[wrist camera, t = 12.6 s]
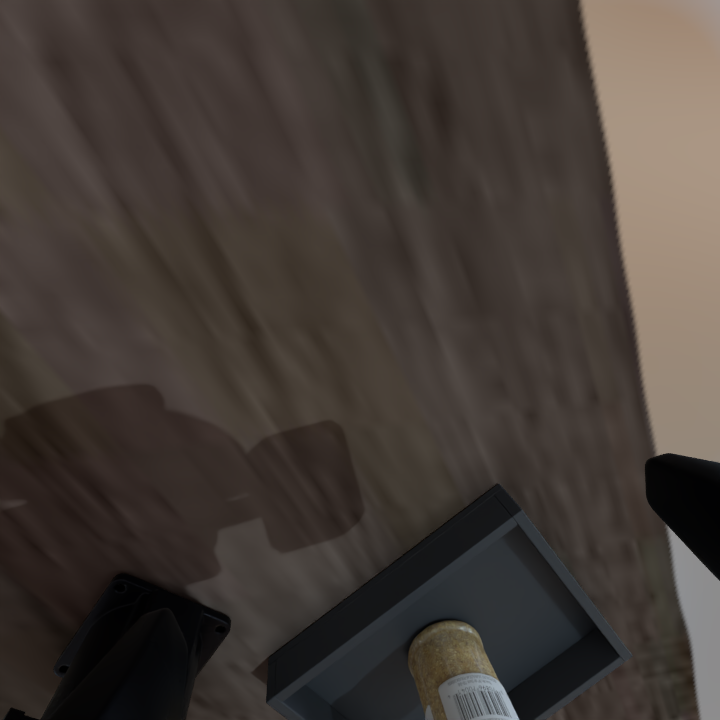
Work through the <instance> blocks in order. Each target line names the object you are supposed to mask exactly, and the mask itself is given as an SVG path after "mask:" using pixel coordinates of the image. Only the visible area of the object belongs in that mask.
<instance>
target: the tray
mask: <svg viewBox="0 0 720 720" xmlns="http://www.w3.org/2000/svg"><path fill="white" fill-rule="evenodd" d="M448 620H449V621H453V620H455V621H462V622H465V623H467V624H469V625H470V626H472V627H473V628H474V629H475V630H476V631H477V632H478V634H479V636H480V638H481V641H482V643H483V649H484V651H485V653H486V655H487V657H488V659H489V661H490V664H491V665H492V667H493V669H494V672H495V674H496V676H497V678H498V680H499V682H500V683H501V684H502V686H503V687H504V689H505V691H506V693H507V695H508V697H509V699H510V701H511V703H512V705H513V708H514V710H515V712H516V714H517V716H518V718H519V720H546V719H547V718H549V717H550V716H551V715H553V714H554V713H555V712H557V711H558V710H560V709H561V708H562V707H564V706H565V705H566V704H568V703H569V702H571V701H572V700H573V699H575V698H576V697H577V696H579V695H580V694H582V693H583V692H584V691H586V690H587V689H588V688H590V687H591V686H593V685H594V684H595V683H597V682H598V681H599V680H601V679H602V678H604V677H605V676H606V675H608V674H609V673H610V672H612V671H613V670H615V669H616V668H617V667H619V666H620V665H621V664H623V663H624V662H625V661H627V660H628V659H630V658H631V657H632V654H631V653H630V652H629V650H628V649H627V648H626V646H625V645H624V644H623V642H622V641H621V640H620V638H619V637H618V636H617V634H616V633H615V632H614V630H613V629H612V628H611V626H610V625H609V624H608V622H607V621H606V620H605V619H604V617H603V616H602V615H601V613H600V612H599V611H598V609H597V608H596V607H595V605H594V604H593V603H592V601H591V600H590V599H589V597H588V596H587V595H586V593H585V592H584V591H583V589H582V588H581V587H580V585H579V584H578V583H577V582H576V580H575V579H574V578H573V576H572V575H571V574H570V572H569V571H568V570H567V568H566V567H565V566H564V564H563V563H562V562H561V560H560V559H559V558H558V556H557V555H556V554H555V552H554V551H553V550H552V548H551V547H550V546H549V544H548V543H547V542H546V541H545V539H544V538H543V537H542V535H541V534H540V533H539V531H538V530H537V529H536V527H535V526H534V525H533V523H532V522H531V521H530V519H529V518H528V517H527V515H526V514H525V513H524V511H523V510H522V509H521V508H520V507H519V506H518V504H517V503H516V502H515V501H514V500H513V499H512V498H511V496H510V495H509V494H508V493H507V492H506V491H505V490H504V489H503V487H502V486H501V485H500V484H497V485H496V486H495V487H493V488H492V489H491V490H490V491H488V492H487V493H486V494H484V495H483V496H482V497H480V498H479V499H478V500H476V501H475V502H474V503H472V504H471V505H470V506H468V507H467V508H466V509H464V510H463V511H462V512H460V513H459V514H458V515H457V516H455V517H454V518H453V519H451V520H450V521H449V522H447V523H446V524H445V525H443V526H442V527H441V528H439V529H438V530H437V531H435V532H434V533H433V534H431V535H430V536H429V537H427V538H426V539H425V540H424V541H422V542H421V543H420V544H418V545H417V546H416V547H414V548H413V549H412V550H410V551H409V552H408V553H406V554H405V555H404V556H402V557H401V558H400V559H398V560H397V561H396V562H395V563H393V564H392V565H391V566H389V567H388V568H387V569H385V570H384V571H383V572H381V573H380V574H379V575H377V576H376V577H375V578H373V579H372V580H371V581H369V582H368V583H367V584H365V585H364V586H363V587H362V588H360V589H359V590H358V591H356V592H355V593H354V594H352V595H351V596H350V597H348V598H347V599H346V600H344V601H343V602H342V603H340V604H339V605H338V606H336V607H335V608H334V609H333V610H331V611H330V612H329V613H327V614H326V615H325V616H323V617H322V618H321V619H319V620H318V621H317V622H315V623H314V624H313V625H311V626H310V627H309V628H307V629H306V630H305V631H303V632H302V633H301V634H300V635H298V636H297V637H296V638H294V639H293V640H292V641H290V642H289V643H288V644H286V645H285V646H284V647H282V648H281V649H280V650H278V651H277V652H276V653H274V654H273V655H272V656H271V657H269V663H268V665H269V667H268V680H267V696H266V703H267V704H268V705H270V706H271V707H272V708H273V709H275V710H276V711H277V712H279V713H280V714H281V715H283V716H284V717H285V718H286V719H288V720H425V714H424V710H423V706H422V703H421V700H420V696H419V692H418V689H417V686H416V683H415V680H414V677H413V676H412V674H411V672H410V669H409V666H408V656H409V655H408V653H409V648H410V646H411V644H412V642H413V639H414V638H415V637H416V636H417V635H418V634H419V633H421V632H422V631H423V630H424V629H425V628H427V627H428V626H430V625H433V624H435V623H439V622H442V621H448Z"/></svg>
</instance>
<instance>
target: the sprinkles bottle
mask: <svg viewBox="0 0 720 720" xmlns="http://www.w3.org/2000/svg"><path fill="white" fill-rule="evenodd" d="M408 655H409V656H408V666H409V669H410V672H411V674H412V676H413V677H414V680H415V683H416V686H417V689H418V692H419V696H420V700H421V703H422V706H423V710H424V714H425V720H519V718H518V716H517V714H516V712H515V710H514V708H513V705H512V703H511V701H510V699H509V697H508V695H507V693H506V691H505V689H504V687H503V686H502V684H501V683H500V682H499V680H498V678H497V676H496V674H495V672H494V669H493V667H492V665H491V664H490V661H489V659H488V657H487V655H486V653H485V651H484V649H483V643H482V641H481V638H480V636H479V634H478V632H477V631H476V630H475V629H474V628H473V627H472V626H470V625H469V624H467V623H465V622H462V621H455V620H453V621H449V620H448V621H442V622H439V623H435V624H433V625H430V626H428V627H427V628H425V629H424V630H423V631H422V632H421V633H419V634H418V635H417V636H416V637H415V638H414V639H413V642H412V644H411V646H410V648H409V653H408Z"/></svg>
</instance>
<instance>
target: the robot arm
mask: <svg viewBox="0 0 720 720" xmlns="http://www.w3.org/2000/svg"><path fill="white" fill-rule="evenodd" d="M645 481H646V497H647V500H648V502H649V504H650V506H651V508H652V509H653V510H654V511H655V512H656V513H657V515H658V516H659V517H660V518H661V519H662V520H663V521H664V522H665V523H666V524H667V525H668V526H669V527H670V529H671V530H672V531H673V532H674V533H675V534H676V535H677V536H678V537H679V538H680V539H681V540H682V541H683V542H684V543H685V545H686V546H687V547H688V548H689V549H690V550H691V551H692V552H693V553H694V554H695V555H696V556H697V558H698V559H699V560H700V561H701V562H702V563H703V564H704V565H705V566H706V567H707V568H708V569H709V570H710V571H711V572H712V573H713V574H714V575H715V576H716V577H717V578H718V579H719V581H720V463H718V462H713V461H707V460H703V459H697V458H692V457H686V456H682V455H677V454H671V453H667V454H663V455H659V456H656V457H653V458H650V459H648V460H647V461H646V464H645ZM118 584H123V585H124V587H123V586H120V585H118ZM220 625H221V626H224V627H219V626H220ZM230 627H231V620H230V618H229V617H227V616H225V615H223V614H220V613H218V612H216V611H213V610H211V609H208V608H206V607H204V606H201V605H199V604H197V603H194V602H192V601H189V600H187V599H185V598H182V597H180V596H178V595H175V594H173V593H171V592H168V591H166V590H163V589H161V588H159V587H156V586H154V585H152V584H149V583H147V582H145V581H142V580H140V579H137V578H135V577H133V576H130V575H128V574H119V575H116V576H115V577H114V578H113V580H112V581H111V583H110V584H109V586H108V587H107V588H106V590H105V591H104V593H103V594H102V596H101V597H100V599H99V600H98V602H97V603H96V605H95V606H94V608H93V609H92V611H91V612H90V613H89V615H88V616H87V618H86V619H85V621H84V622H83V624H82V625H81V627H80V628H79V630H78V631H77V633H76V634H75V636H74V637H73V638H72V640H71V641H70V643H69V644H68V646H67V647H66V649H65V650H64V652H63V653H62V655H61V656H60V658H59V659H58V661H57V663H56V664H55V666H54V669H53V670H54V673H55V674H56V675H57V676H59V677H62V678H63V679H62V681H61V683H60V685H59V686H58V688H57V690H56V692H55V694H54V696H53V698H52V699H51V701H50V703H49V705H48V707H47V709H46V710H45V712H44V714H43V716H42V718H41V720H186V716H187V711H188V707H189V703H190V698H191V694H192V690H193V686H194V681H195V678H196V677H197V675H198V674H199V672H200V671H201V670H202V668H203V667H204V666H205V664H206V663H207V662H208V660H209V659H210V658H211V656H212V655H213V654H214V652H215V651H216V649H217V648H218V647H219V645H220V644H221V643H222V641H223V640H224V639H225V637H226V636H227V635H228V633H229V631H230ZM24 714H25V712H24V711H21V710H17V709H14V708H10V710H9V711H8V713H7V714H6V716H5V717H4V719H3V720H38V719H35V718H32V717H29V716H25V715H24Z"/></svg>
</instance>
